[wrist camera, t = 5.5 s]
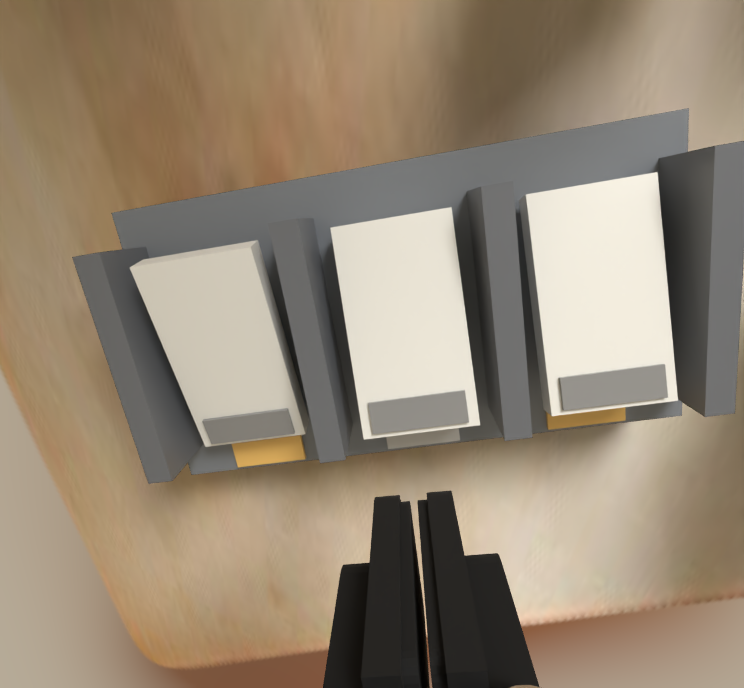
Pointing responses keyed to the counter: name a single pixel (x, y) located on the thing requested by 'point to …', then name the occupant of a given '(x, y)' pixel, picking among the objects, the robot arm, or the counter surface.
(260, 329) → the rocker
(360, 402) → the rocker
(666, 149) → the switch panel
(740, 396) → the counter surface
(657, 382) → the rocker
